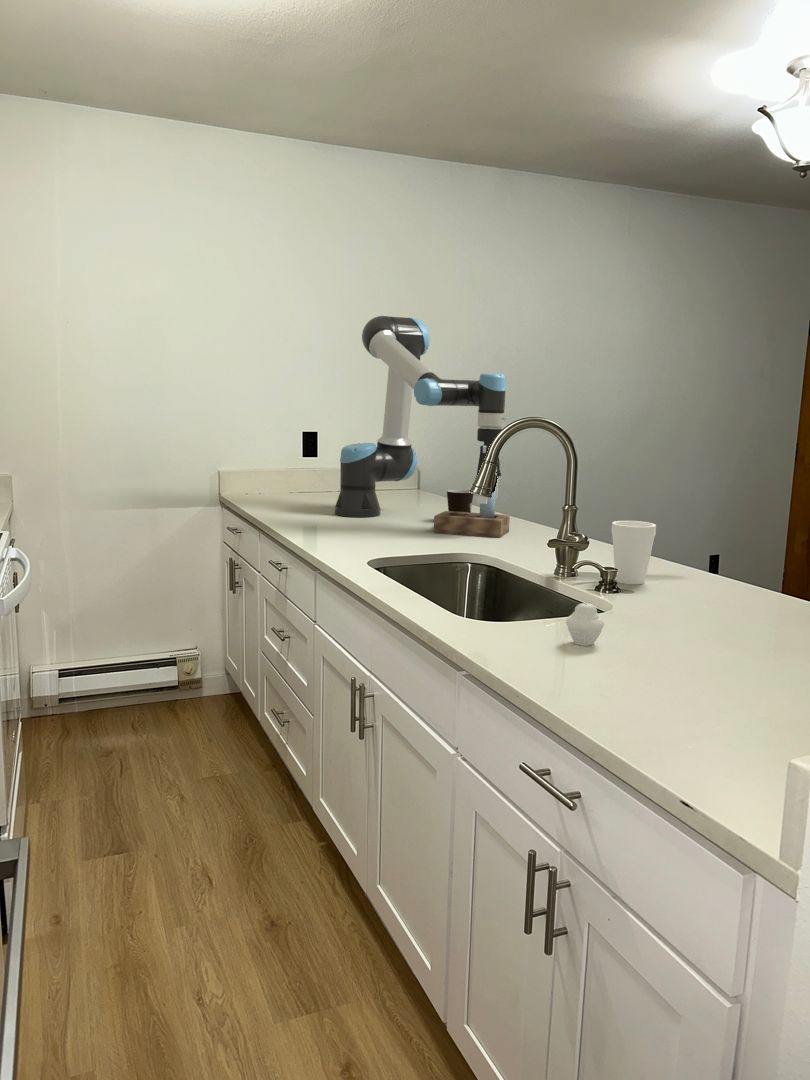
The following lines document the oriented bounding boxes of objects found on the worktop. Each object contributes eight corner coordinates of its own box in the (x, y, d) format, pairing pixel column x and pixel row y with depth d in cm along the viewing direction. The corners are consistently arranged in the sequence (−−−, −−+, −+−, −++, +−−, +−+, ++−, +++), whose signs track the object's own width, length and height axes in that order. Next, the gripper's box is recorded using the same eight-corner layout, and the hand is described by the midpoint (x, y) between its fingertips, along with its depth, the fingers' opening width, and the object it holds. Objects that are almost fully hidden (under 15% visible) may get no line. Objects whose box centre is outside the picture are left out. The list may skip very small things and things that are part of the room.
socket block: (433, 532, 249) (434, 515, 248) (444, 526, 260) (445, 510, 259) (500, 537, 243) (501, 520, 242) (508, 531, 254) (509, 515, 253)
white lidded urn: (597, 638, 145) (599, 598, 143) (607, 648, 138) (609, 607, 137) (561, 637, 144) (563, 597, 143) (569, 648, 138) (572, 606, 137)
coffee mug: (463, 525, 265) (464, 493, 263) (440, 522, 270) (441, 490, 268) (482, 521, 274) (484, 490, 272) (460, 518, 279) (461, 488, 277)
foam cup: (600, 577, 192) (604, 521, 190) (634, 575, 196) (638, 520, 193) (625, 587, 184) (629, 527, 182) (660, 584, 187) (664, 526, 185)
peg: (477, 530, 249) (479, 479, 246) (481, 528, 253) (482, 478, 250) (492, 531, 247) (494, 480, 245) (495, 529, 252) (497, 479, 249)
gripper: (493, 430, 232) (490, 506, 236) (512, 426, 255) (508, 496, 259) (467, 429, 234) (464, 504, 238) (487, 425, 258) (484, 495, 262)
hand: (487, 500), depth 249 cm, fingers open, 13 cm apart
